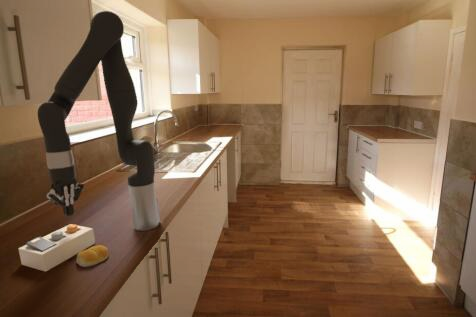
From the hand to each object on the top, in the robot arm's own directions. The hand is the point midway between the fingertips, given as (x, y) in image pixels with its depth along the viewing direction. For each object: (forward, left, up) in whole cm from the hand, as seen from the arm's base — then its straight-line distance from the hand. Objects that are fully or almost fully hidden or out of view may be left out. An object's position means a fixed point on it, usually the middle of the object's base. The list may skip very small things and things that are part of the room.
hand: (69, 215), depth 102 cm
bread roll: (+4, +13, -12) cm, 18 cm away
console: (+5, 0, -11) cm, 12 cm away
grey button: (+5, 0, -7) cm, 8 cm away
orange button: (-1, 0, -7) cm, 7 cm away
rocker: (+10, 0, -6) cm, 12 cm away
